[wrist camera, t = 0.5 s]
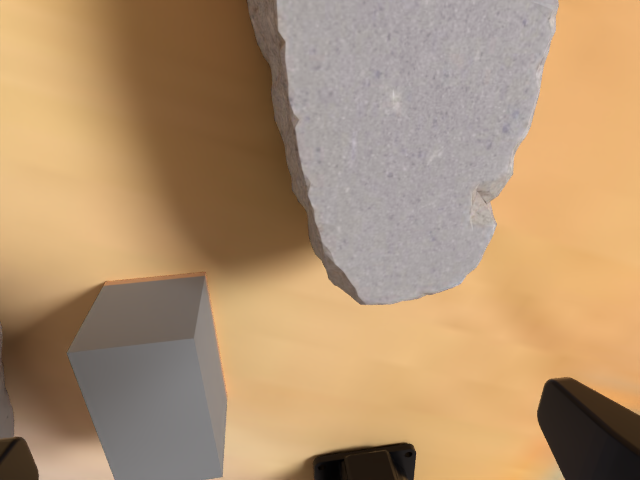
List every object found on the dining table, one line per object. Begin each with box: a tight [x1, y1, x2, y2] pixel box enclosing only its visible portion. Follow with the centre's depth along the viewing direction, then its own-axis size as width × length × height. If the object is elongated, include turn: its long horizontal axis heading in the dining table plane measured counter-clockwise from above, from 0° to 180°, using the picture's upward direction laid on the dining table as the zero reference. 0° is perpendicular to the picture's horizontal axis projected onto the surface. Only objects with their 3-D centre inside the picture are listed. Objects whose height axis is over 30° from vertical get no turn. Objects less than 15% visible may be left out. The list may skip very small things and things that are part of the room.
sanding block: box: [67, 272, 227, 480], centre depth 20 cm, size 8×4×5 cm, turn 2°
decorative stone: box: [247, 0, 559, 305], centre depth 15 cm, size 15×7×10 cm
